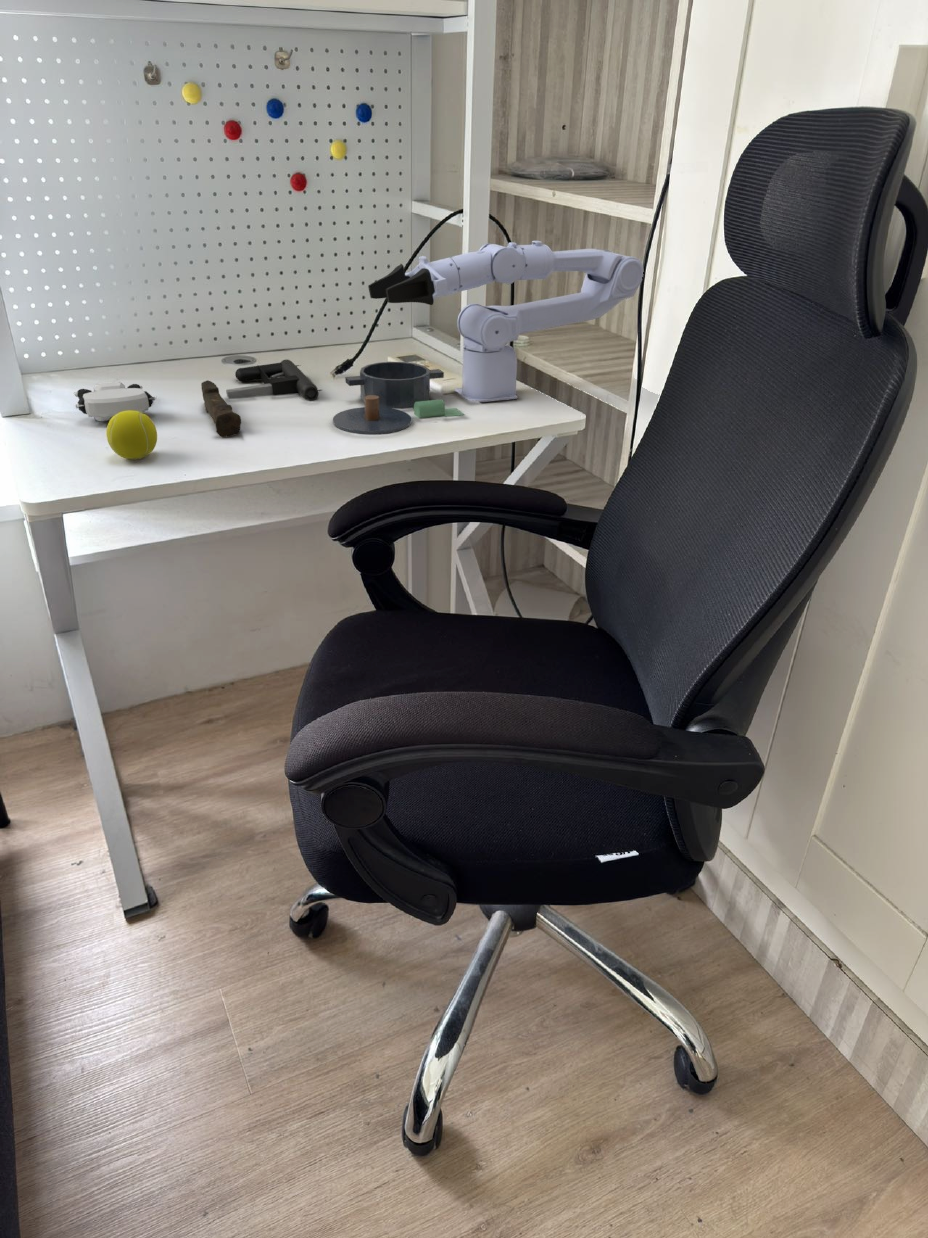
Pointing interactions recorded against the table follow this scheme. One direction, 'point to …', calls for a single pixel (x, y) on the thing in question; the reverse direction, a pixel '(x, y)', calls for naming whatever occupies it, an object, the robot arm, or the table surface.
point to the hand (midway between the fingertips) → (378, 293)
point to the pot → (395, 383)
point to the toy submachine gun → (274, 381)
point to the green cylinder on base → (434, 409)
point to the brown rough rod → (220, 411)
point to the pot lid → (372, 418)
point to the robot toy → (112, 400)
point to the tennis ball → (131, 434)
